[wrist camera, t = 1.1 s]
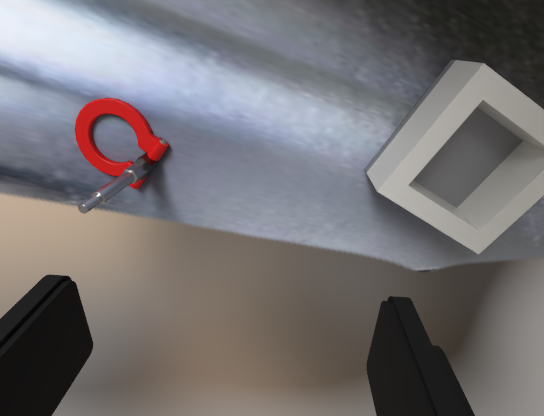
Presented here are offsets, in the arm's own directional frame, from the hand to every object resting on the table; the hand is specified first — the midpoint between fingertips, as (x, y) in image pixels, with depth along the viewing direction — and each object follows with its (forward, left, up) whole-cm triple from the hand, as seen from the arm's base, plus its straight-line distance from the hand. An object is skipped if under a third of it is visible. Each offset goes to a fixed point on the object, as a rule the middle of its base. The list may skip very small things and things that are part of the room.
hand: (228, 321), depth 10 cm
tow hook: (+10, -13, -28) cm, 33 cm away
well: (-8, +18, -28) cm, 34 cm away
